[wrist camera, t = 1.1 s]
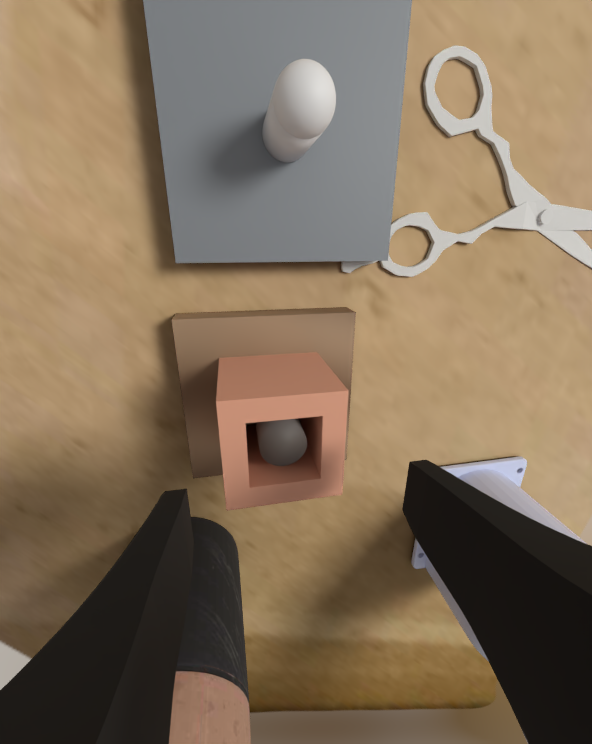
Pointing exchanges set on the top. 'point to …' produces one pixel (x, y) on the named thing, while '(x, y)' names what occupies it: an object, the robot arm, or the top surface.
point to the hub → (279, 125)
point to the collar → (280, 402)
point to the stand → (253, 338)
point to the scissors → (526, 201)
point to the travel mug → (212, 647)
